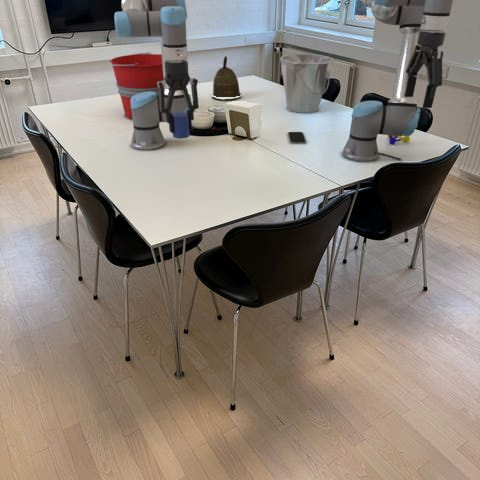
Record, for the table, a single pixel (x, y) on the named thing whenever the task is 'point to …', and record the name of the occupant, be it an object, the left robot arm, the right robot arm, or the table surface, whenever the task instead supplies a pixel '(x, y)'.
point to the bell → (225, 82)
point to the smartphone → (296, 137)
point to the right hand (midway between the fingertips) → (417, 102)
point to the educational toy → (394, 140)
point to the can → (181, 125)
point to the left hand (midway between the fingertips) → (180, 130)
